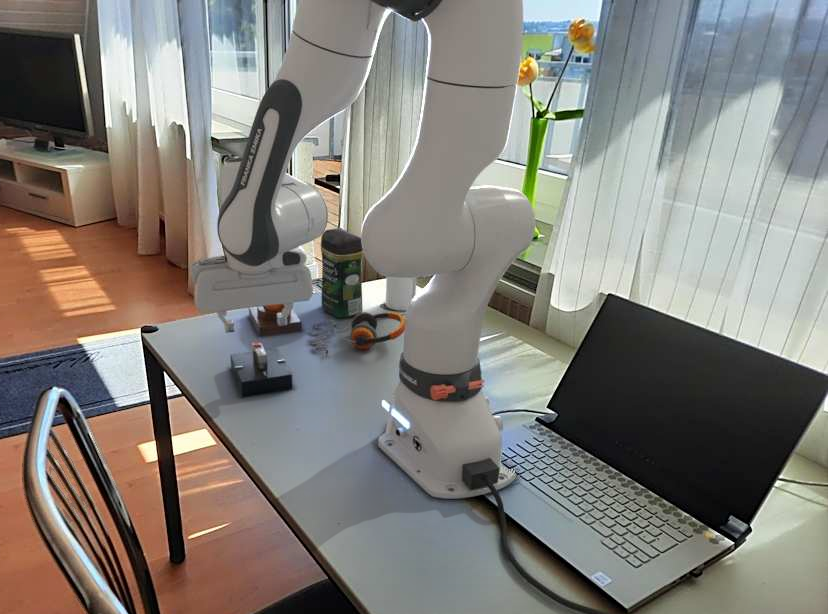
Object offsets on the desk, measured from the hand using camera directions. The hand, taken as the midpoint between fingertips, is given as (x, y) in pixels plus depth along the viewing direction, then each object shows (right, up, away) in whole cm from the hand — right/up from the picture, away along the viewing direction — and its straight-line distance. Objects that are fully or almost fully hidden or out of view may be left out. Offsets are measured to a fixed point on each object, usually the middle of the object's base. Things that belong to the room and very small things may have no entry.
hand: (256, 327), depth 115 cm
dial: (0, -6, +3) cm, 7 cm away
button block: (0, +2, +26) cm, 26 cm away
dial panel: (0, -9, +4) cm, 10 cm away
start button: (0, +5, +24) cm, 25 cm away
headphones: (+18, -2, +19) cm, 26 cm away
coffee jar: (+14, +5, +33) cm, 36 cm away
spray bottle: (+28, +6, +36) cm, 46 cm away
